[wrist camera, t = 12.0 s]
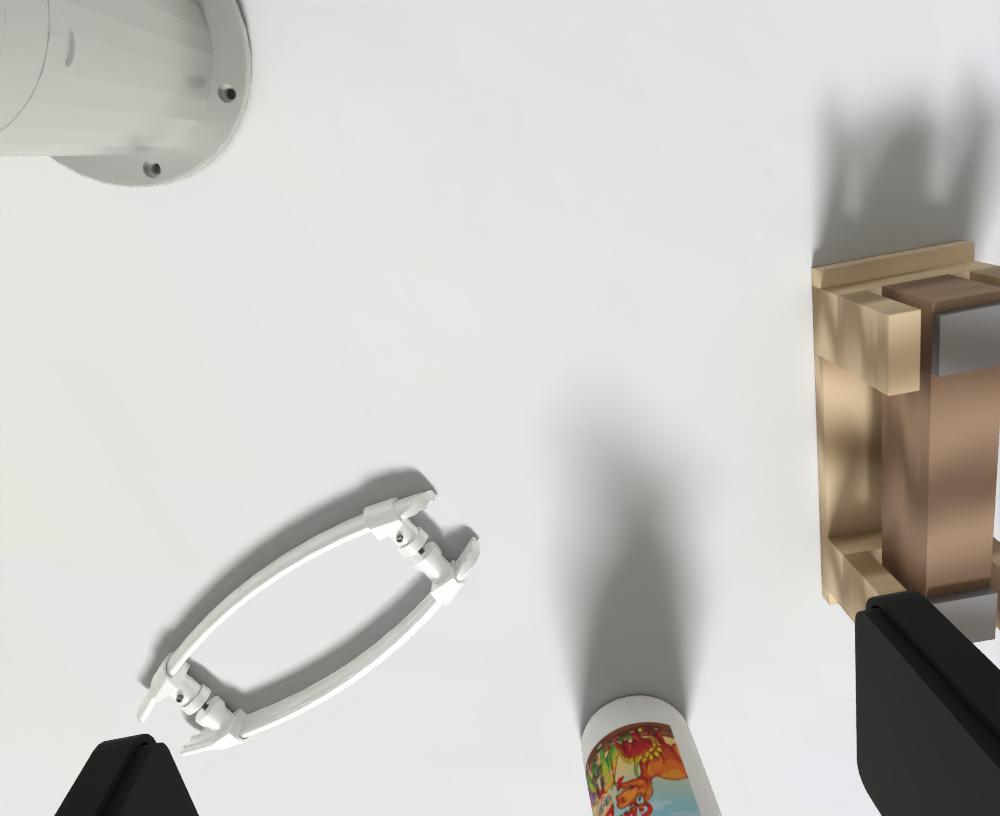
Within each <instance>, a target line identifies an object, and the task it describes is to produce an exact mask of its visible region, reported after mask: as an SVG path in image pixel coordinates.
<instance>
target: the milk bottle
mask: <svg viewBox="0 0 1000 816" xmlns="http://www.w3.org/2000/svg"><path fill="white" fill-rule="evenodd" d="M581 748H582V755H583V762H584V768H585V774H586V779H587V785H588V790H589V796H590V801H591V807H592V812H593V816H722V815H721V812H720V810H719V807H718V804H717V801H716V799H715V796H714V793H713V791H712V788H711V785H710V782H709V780H708V777H707V774H706V772H705V769H704V766H703V764H702V761H701V758H700V756H699V753H698V750H697V748H696V745H695V743H694V740H693V737H692V735H691V732H690V730H689V727H688V725H687V723H686V721H685V719H684V717H683V716H682V715H681V714H680V712H678V711H677V710H676V709H675V708H674V707H673V706H671V705H670V704H668V703H667V702H665V701H663V700H660V699H658V698H655V697H650V696H640V695H635V696H626V697H623V698H619V699H616V700H614V701H612V702H609V703H607V704H606V705H604V706H603V707H601V708H600V709H599V710H598V711H597V712H596V713H595V714H594V715H592V717H591V719H590V720H589V721H588V723H587V725H586V728H585V730H584V733H583V736H582V742H581Z"/></svg>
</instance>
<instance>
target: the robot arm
mask: <svg viewBox="0 0 1000 816" xmlns="http://www.w3.org/2000/svg"><path fill="white" fill-rule="evenodd" d="M250 86H251V52H250V46H249V41H248V35H247V30H246V26H245V24H244V21H243V18H242V15H241V12H240V10H239V7H238V4H237V1H236V0H0V156H49V157H51V158H52V159H53V160H55V161H56V162H57V163H59V164H61V165H63V166H65V167H66V168H68V169H70V170H72V171H74V172H75V173H77V174H79V175H81V176H84V177H87V178H90V179H93V180H96V181H99V182H102V183H105V184H111V185H118V186H124V187H148V186H157V185H163V184H169V183H172V182H175V181H178V180H181V179H183V178H186V177H189V176H191V175H193V174H194V173H196V172H198V171H199V170H201V169H202V168H204V167H206V166H207V165H209V164H210V163H211V162H212V161H213V160H214V159H215V158H216V157H217V156H218V155H219V154H220V153H221V152H222V151H223V150H224V149H225V148H226V147H227V145H228V144H229V142H230V140H231V139H232V137H233V136H234V134H235V133H236V131H237V130H238V128H239V125H240V123H241V120H242V117H243V115H244V112H245V110H246V107H247V103H248V97H249V91H250ZM230 89H233V90H234V91H235V92H236V97H235V99H233V100H231V99H229V97H228V91H229V90H230ZM156 164H159V166H160V169H161V173H160V174H158V173H156V171H155V165H156ZM855 660H856V729H857V765H858V770H859V774H860V777H861V780H862V782H863V785H864V787H865V789H866V791H867V793H868V794H869V796H870V798H871V799H872V801H873V802H874V804H875V806H876V807H877V809H878V810H879V812H880V814H881V815H882V816H1000V670H999V669H998V668H997V667H996V666H995V665H994V664H993V663H992V662H991V661H990V660H989V659H988V658H987V657H986V656H985V655H984V654H983V653H982V652H981V651H980V650H979V649H978V648H977V647H976V646H975V645H974V644H973V643H972V642H971V641H970V640H969V639H968V638H967V637H966V636H965V635H964V634H963V633H961V632H960V631H959V630H958V629H957V628H956V627H955V626H954V625H953V624H952V623H951V622H950V621H949V620H948V619H947V618H946V617H945V616H944V615H943V614H942V613H941V612H940V611H939V610H938V609H937V608H936V607H935V606H934V605H933V604H932V603H931V602H930V601H929V600H928V599H927V598H926V597H925V596H924V595H922V594H921V593H920V592H918V591H916V590H907V591H901V592H896V593H891V594H885V595H880V596H875V597H871V598H869V599H868V600H867V602H866V609H865V610H863V611H859V612H857V613H856V615H855ZM55 816H199V815H198V813H197V810H196V808H195V806H194V804H193V802H192V799H191V797H190V795H189V793H188V791H187V788H186V786H185V784H184V782H183V780H182V777H181V775H180V773H179V771H178V768H177V766H176V764H175V762H174V760H173V757H172V755H171V753H170V751H169V749H168V747H167V746H166V745H165V744H164V743H156V741H155V740H154V738H153V737H152V736H150V735H149V734H140V735H135V736H130V737H125V738H119V739H114V740H109V741H104V742H102V743H101V744H99V745H98V746H97V747H96V748H95V750H94V751H93V752H92V754H91V756H90V757H89V759H88V761H87V762H86V764H85V766H84V767H83V769H82V771H81V772H80V774H79V776H78V777H77V779H76V781H75V782H74V784H73V786H72V787H71V789H70V791H69V792H68V794H67V796H66V797H65V799H64V801H63V802H62V804H61V806H60V807H59V809H58V811H57V812H56V814H55Z"/></svg>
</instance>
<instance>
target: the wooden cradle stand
mask: <svg viewBox="0 0 1000 816" xmlns="http://www.w3.org/2000/svg"><path fill="white" fill-rule="evenodd" d="M945 274H950V275H954V276H958V277H962V278H966V279H970V280H974V281H977V282H981V283H985V284H989V285H993V286H997V287H1000V266H996V265H992V264H987V263H982V262H978V261H974V242H969V241H964V240H962V241H956V242H951V243H945V244H940V245H935V246H929V247H924V248H918V249H913V250H907V251H902V252H897V253H891V254H886V255H880V256H875V257H870V258H864V259H859V260H853V261H848V262H842V263H837V264H832V265H826V266H821V267H815V268H812V292H813V323H814V353H815V383H816V413H817V443H818V473H819V503H820V533H821V564H822V594H823V597H824V598H825V600H826V601H827V602H828V603H829V605H832V604H837V603H839V605H840V606H841V607H842V608H843V610H844V611H845V612H846V613H847V615H848V616H849V617H850V618H851V619H852V621H853V622H854V623H855V615H856V613H857V612H859V611H863V610H865V609H866V602H867V600H868V599H869V598H871V597H875V596H880V595H885V594H891V593H896V592H901V591H907V590H906V589H905V588H904V587H903V586H902V585H901V584H900V583H899V582H898V581H897V580H896V579H895V578H894V577H893V576H892V575H891V574H890V573H889V572H888V571H887V570H886V569H885V568H884V567H883V566H882V393H884V394H886V395H888V396H891V395H897V394H902V393H908V392H913V391H919V390H920V335H921V310H920V309H917V308H915V307H912V306H909V305H906V304H903V303H900V302H898V301H895V300H892V299H889V298H886V297H883V296H882V286H885V285H891V284H896V283H902V282H907V281H913V280H918V279H923V278H929V277H934V276H940V275H945ZM990 587H991V588H992V589H993V590H995V591H996V592H997V593H998V597H997V613H996V627H997V628H998V629H999V630H1000V542H999V541H998V540H996V539H995V538H994V537H993V548H992V565H991V582H990Z"/></svg>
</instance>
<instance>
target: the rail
mask: <svg viewBox="0 0 1000 816" xmlns="http://www.w3.org/2000/svg"><path fill="white" fill-rule="evenodd" d="M882 296H883V297H886V298H889V299H892V300H895V301H898V302H900V303H903V304H906V305H909V306H912V307H915V308H917V309H920V310H921V335H920V390H919V391H913V392H908V393H902V394H897V395H891V396H888V395H886V394H884V393H882V566H883V567H884V568H885V569H886V570H887V571H888V572H889V573H890V574H891V575H892V576H893V577H894V578H895V579H896V580H897V581H898V582H899V583H900V584H901V585H902V586H903V587H904V588H905V589H906V590H916V591H918V592H920V593H921V594H922V595H924V596H925V597H926V598H927V599H928V600H929V601H930V602H931V603H932V604H933V605H934V606H935V607H936V608H937V609H938V610H939V611H940V612H941V613H942V614H943V615H944V616H945V617H946V618H947V619H948V620H949V621H950V622H951V623H952V624H953V625H954V626H955V627H956V628H957V629H958V630H959V631H960V632H961V633H963V634H964V635H965V636H966V637H967V638H968V639H969V640H970V641H971V642H972V643H974V642H980V641H986V640H992V639H995V628H996V613H997V597H998V593H997V592H996V591H995V590H993V589H992V588H991V587H990V582H991V565H992V548H993V531H994V514H995V497H996V480H997V463H998V446H999V429H1000V287H997V286H993V285H989V284H985V283H981V282H977V281H974V280H970V279H966V278H962V277H958V276H954V275H950V274H945V275H940V276H934V277H929V278H923V279H918V280H913V281H907V282H902V283H896V284H891V285H885V286H882Z"/></svg>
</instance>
